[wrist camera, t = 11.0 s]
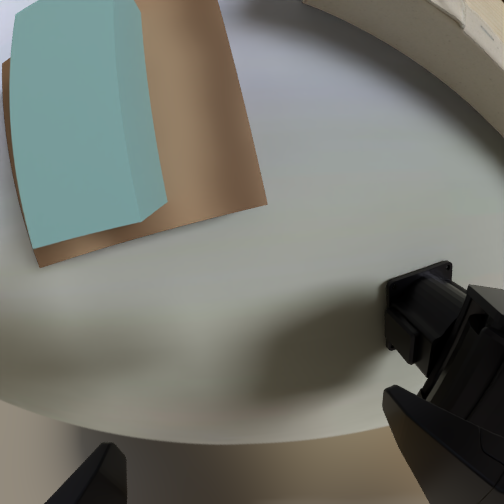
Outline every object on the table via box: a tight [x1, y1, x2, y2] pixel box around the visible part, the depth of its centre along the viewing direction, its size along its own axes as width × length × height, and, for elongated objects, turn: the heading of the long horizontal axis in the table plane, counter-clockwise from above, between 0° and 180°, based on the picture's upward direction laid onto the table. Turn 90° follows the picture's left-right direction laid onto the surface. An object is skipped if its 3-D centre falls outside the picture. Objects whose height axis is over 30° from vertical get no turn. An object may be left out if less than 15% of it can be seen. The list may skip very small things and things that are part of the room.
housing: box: [10, 0, 168, 249], centre depth 10 cm, size 11×5×5 cm, turn 9°
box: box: [302, 0, 504, 138], centre depth 11 cm, size 23×8×32 cm
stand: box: [2, 0, 268, 268], centre depth 14 cm, size 14×14×3 cm
